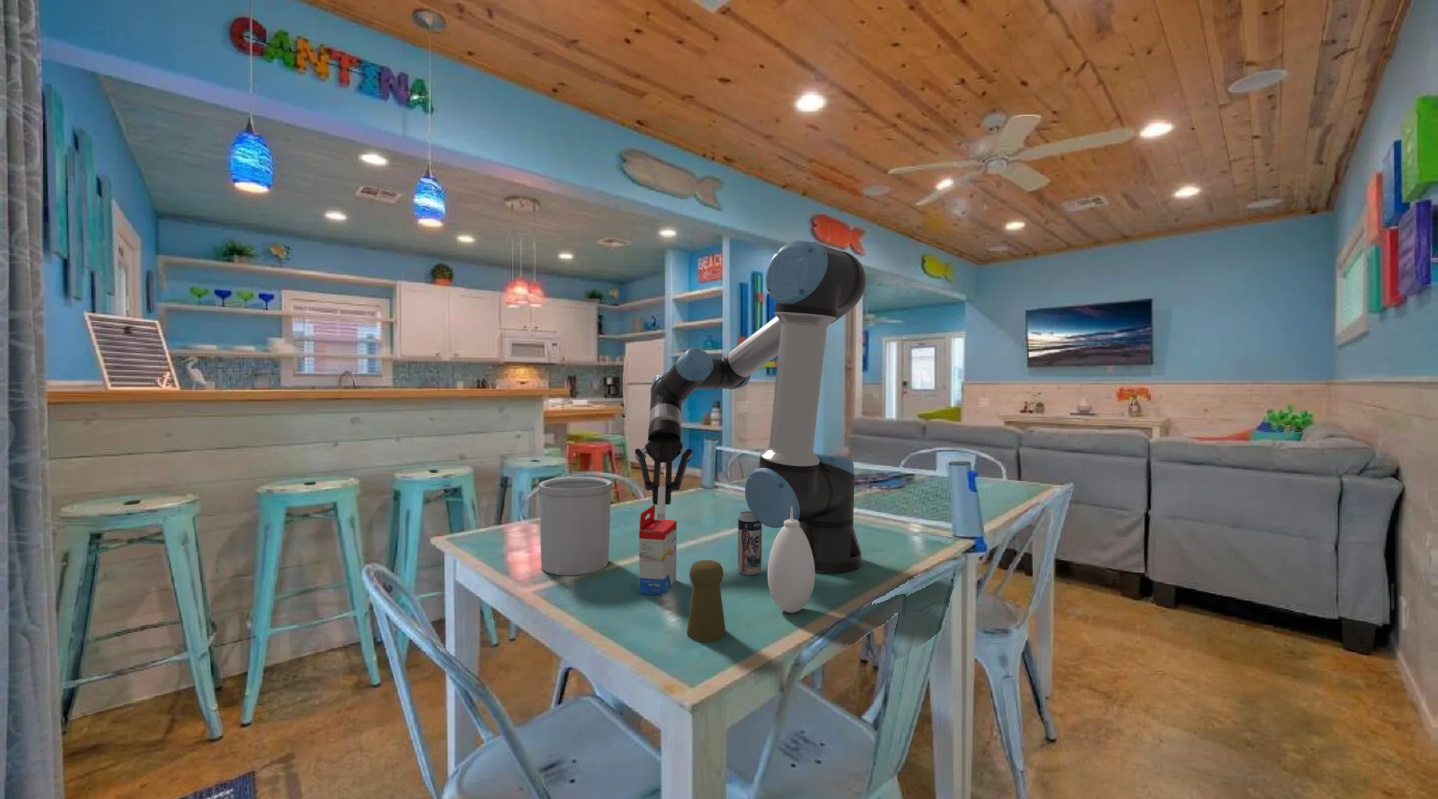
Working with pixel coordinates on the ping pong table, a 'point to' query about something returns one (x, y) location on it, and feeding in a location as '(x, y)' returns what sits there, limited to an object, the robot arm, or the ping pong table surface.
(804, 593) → the air blower bulb
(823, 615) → the ping pong table surface
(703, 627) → the cork
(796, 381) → the robot arm
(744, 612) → the ping pong table surface
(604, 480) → the utensil holder
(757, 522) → the beer can
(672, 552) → the ink box
